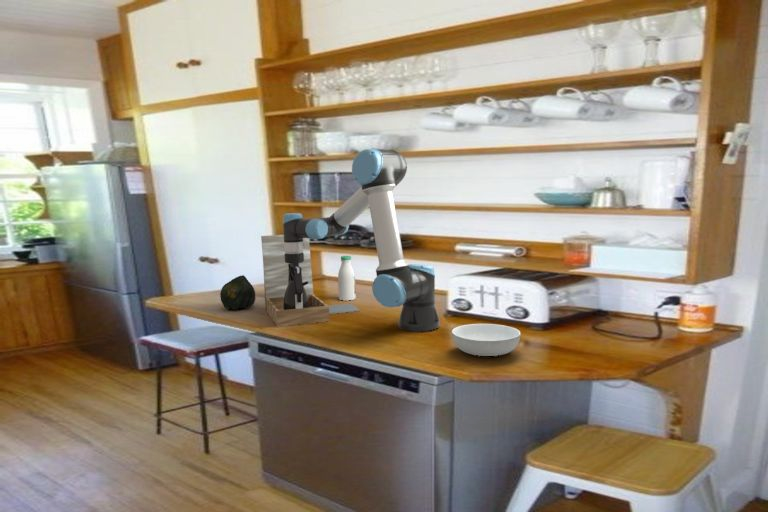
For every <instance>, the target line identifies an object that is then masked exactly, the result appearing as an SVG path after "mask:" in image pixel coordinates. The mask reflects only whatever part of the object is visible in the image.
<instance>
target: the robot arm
mask: <svg viewBox="0 0 768 512" xmlns="http://www.w3.org/2000/svg"><path fill="white" fill-rule="evenodd" d="M407 172H408V164H407V160H406V158H405V156H404V155H403V154H402V153H401V152H399V151H398V150H394V149H381V148H380V149H379V148H374V147H373V148H366V149H362V150H360V151H359V152H358V153H357V154H356V155H355V157H354V159H353V161H352V165H351V174H352V177H353V179H354V180H355V181H356V182H357V183H358V184H360V185H361V186H360V187H359V188H358V189H357V190H356V191H355V192H354V193H353V194H352V195H351V196H350V197H349V198H348V199H347V200H346V201H345V202H344V203H343V204H341V206H340V207H339V208H338V209H336V210H335V211H334V212H333V213H332V214H331V215H330V216H328V217H319V218H318V217H317V218H303V214H302V213H299V212H293V213H292V212H291V213H290V212H289V213H284V215H283V217H282V227H283V228H282V230H283V231H282V232H283V235H284V252H286V253H285V262H286V263H290V264H288V268H289V276H288V284H289V282H290V281H292V280H294V285H295V293H294V295H295V307H296V309H299V308H303V301H302V293H303V292H304V291H303V283H302V273H301V270H302V269H301V268H300V267H299V263H301V262H304V253H303V252H302V251H303V246H304V245H305V244H304V243H303V238H309V240H310V239H312V240H321V239H324V238H327V237H333V236H338V237H339V236H342V235H345V234H346V233H347V232H348V231H349V228H350V225H351V224H352V223H353V222H354V221H355V220H356V219H357V218H359V216H361V214H363V213H364V212H365V211H366V210H368V208H369V211H370V219H371V223H372V230H373V235H374V241H375V247H376V252H377V259H378V263H379V264H378V265H377V267H376V269H375V273H376V274H375V275H376V277H375V278H373V279H374V280H373V282H372V287H371V289H372V295H373V297H374V298H375V300H376V301H377V303H380V305H381V306H383V307H385V308H396V307H401V306H402V308H401V310H400V311H401V312H400V314H399V318H398V320H397V321H398V322H397V323H398V328H399V329H400V330H404V331H407V332H414V333H415V332H416V333H418V332H421V331H423V332H430V331H429V330H432V331H434V330H433V329H435V330H437V329H436V328H438V327H439V326H440V327H441V323H440V322H441V321H440V318H439V315H438V311H437V307H436V304H435V302H436V300H435V298H436V297H435V296H436V295H435V294H436V292H435V286H436V285H435V281H436V280H435V277H436V274H435V268H434V267H433V265H429V264H418V263H417V264H416V263H415V264H413V263H408V262H407V261H406V260H405V258H404V253H403V247H402V241H401V235H400V234H401V233H400V229H399V223H398V217H397V212H396V207H395V200H394V194H393V190H394V189H395V188H396V187H397V186H398V185H399V184H400V183H401V182H403V180H404V178H405V176H406V174H407ZM440 327H439V328H440ZM439 328H438V329H439ZM421 333H422V332H421Z"/></svg>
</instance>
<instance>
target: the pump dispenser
mask: <svg viewBox="0 0 768 512" xmlns="http://www.w3.org/2000/svg"><path fill="white" fill-rule="evenodd" d="M306 284H308V281H306V282H303V291H304V292H303V293H302V301H303V308H309V302H308V297H307V293H306V291H305V288H304V286H305V285H306ZM294 293H295V285H294V280H292V281H290V282H289V284H288V286H287V288H286V291H285V295H284V302H283V309H284V310H289V309H296V307H295V295H294Z"/></svg>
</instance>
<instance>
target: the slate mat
mask: <svg viewBox="0 0 768 512" xmlns="http://www.w3.org/2000/svg"><path fill="white" fill-rule="evenodd" d="M327 305H328V304H327ZM328 306H329V314H330V315H337V313H339V314H346V312H348V313H355V312H354V311H358V312H360V311H361V309H359V308H358V307H357V306H355V305H353V304H352V303H350V302H348V303H340V304H339V303H338V304H329V305H328Z"/></svg>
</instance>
